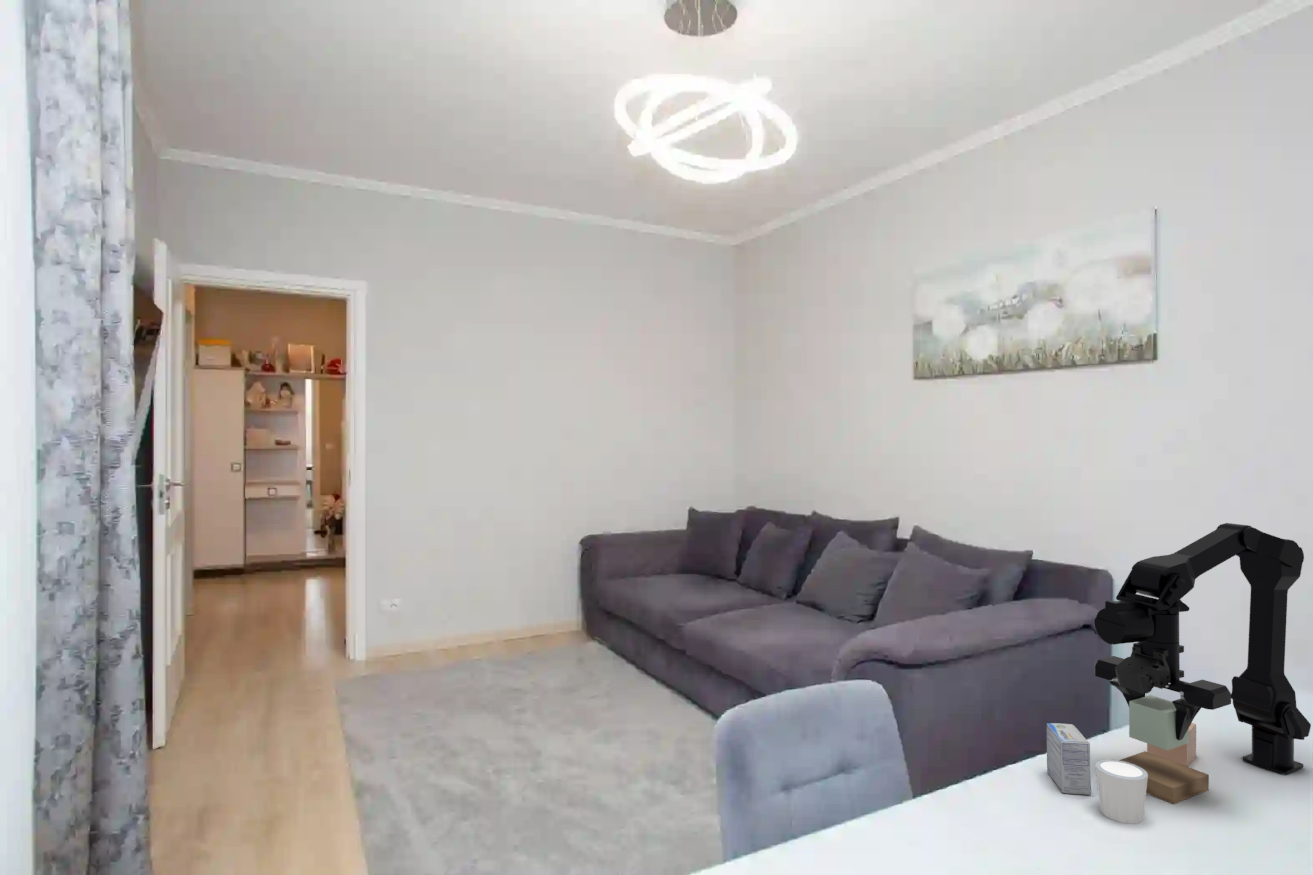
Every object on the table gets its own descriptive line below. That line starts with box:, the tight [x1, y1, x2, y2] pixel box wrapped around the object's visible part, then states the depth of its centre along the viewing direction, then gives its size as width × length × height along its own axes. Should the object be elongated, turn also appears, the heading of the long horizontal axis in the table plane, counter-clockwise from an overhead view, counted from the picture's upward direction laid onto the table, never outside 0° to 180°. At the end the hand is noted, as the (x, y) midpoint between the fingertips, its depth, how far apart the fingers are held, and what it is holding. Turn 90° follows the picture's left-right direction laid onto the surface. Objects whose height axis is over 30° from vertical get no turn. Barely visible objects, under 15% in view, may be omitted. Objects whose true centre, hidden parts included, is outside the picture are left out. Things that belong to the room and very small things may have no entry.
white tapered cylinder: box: [1095, 759, 1148, 825], centre depth 114 cm, size 7×7×7 cm
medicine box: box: [1046, 722, 1092, 796], centre depth 124 cm, size 8×4×9 cm, turn 168°
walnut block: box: [1117, 751, 1210, 805], centre depth 124 cm, size 10×10×2 cm
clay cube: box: [1146, 722, 1197, 767], centre depth 134 cm, size 6×6×6 cm
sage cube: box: [1128, 694, 1189, 750], centre depth 123 cm, size 6×6×6 cm
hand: (1158, 732), depth 124 cm, fingers closed on sage cube, 6 cm apart
